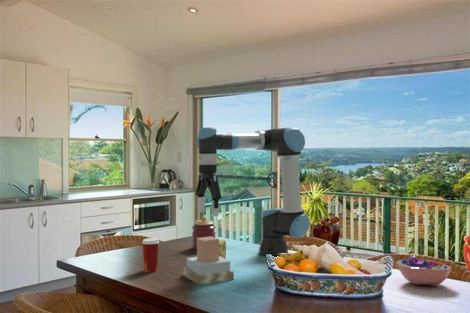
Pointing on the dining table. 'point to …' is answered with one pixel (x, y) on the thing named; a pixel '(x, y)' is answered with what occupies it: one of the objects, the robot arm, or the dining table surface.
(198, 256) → the terracotta block
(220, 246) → the cheese
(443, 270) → the cell model
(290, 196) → the robot arm
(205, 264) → the tower top
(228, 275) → the tower base
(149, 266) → the paper cup
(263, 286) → the dining table surface
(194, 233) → the canister
